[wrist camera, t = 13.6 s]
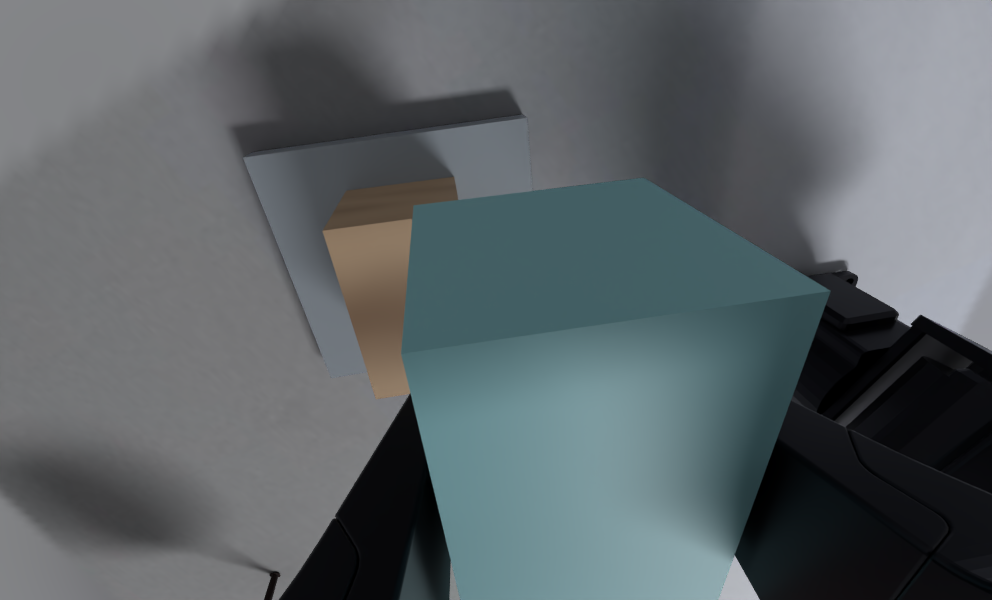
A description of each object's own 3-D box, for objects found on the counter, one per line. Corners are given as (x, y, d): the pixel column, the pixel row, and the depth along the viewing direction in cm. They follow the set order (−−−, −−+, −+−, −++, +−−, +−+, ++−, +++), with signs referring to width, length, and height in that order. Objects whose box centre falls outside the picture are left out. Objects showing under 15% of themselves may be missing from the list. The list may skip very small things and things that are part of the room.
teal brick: (619, 438, 12) (709, 622, 8) (460, 464, 12) (477, 670, 8) (643, 177, 8) (830, 291, 4) (413, 205, 8) (401, 353, 4)
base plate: (538, 331, 24) (542, 342, 23) (334, 365, 23) (331, 378, 22) (522, 114, 18) (527, 117, 17) (252, 152, 17) (242, 157, 16)
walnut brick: (475, 321, 22) (484, 381, 18) (386, 335, 21) (376, 399, 17) (454, 176, 18) (460, 212, 14) (346, 190, 18) (322, 230, 14)
